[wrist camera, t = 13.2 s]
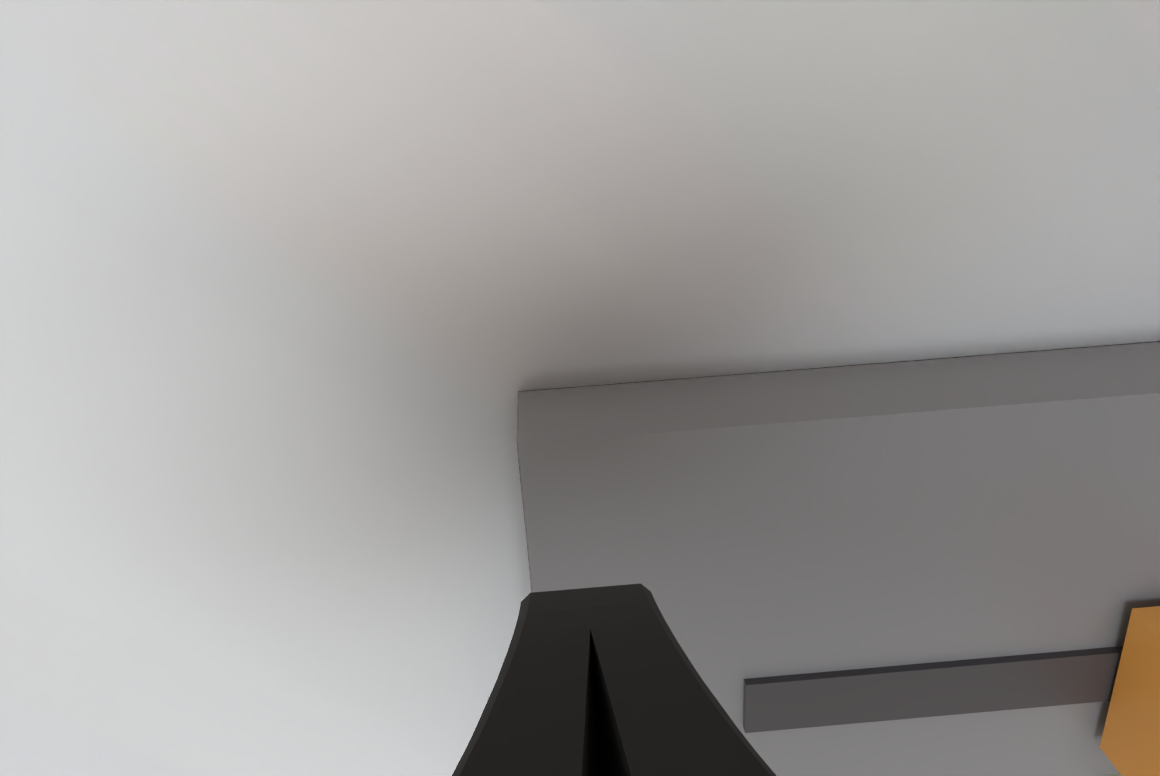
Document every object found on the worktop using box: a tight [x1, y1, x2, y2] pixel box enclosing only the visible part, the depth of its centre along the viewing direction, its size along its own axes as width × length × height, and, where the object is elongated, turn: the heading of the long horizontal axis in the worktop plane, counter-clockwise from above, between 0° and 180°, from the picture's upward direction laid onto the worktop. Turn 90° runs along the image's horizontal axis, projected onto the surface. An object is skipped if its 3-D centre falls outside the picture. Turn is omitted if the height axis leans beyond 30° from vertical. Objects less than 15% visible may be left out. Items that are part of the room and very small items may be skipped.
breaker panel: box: [517, 342, 1160, 776], centre depth 21 cm, size 18×14×3 cm
